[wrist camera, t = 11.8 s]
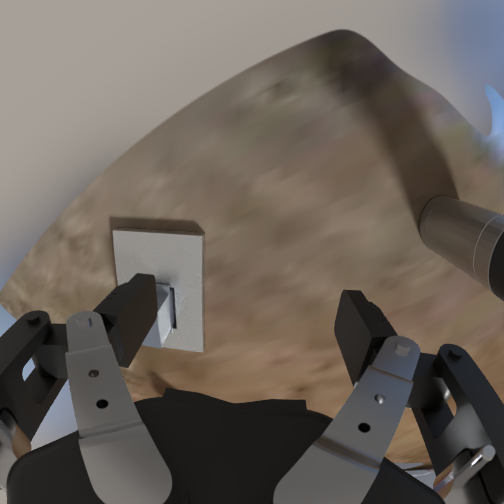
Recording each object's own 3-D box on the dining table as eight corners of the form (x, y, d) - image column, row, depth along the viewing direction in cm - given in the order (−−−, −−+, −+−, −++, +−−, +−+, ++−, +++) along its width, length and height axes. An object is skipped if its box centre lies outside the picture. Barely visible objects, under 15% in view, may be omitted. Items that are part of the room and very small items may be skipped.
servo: (173, 279, 42) (156, 305, 35) (175, 325, 45) (162, 354, 37) (149, 277, 42) (129, 301, 35) (153, 322, 45) (137, 350, 37)
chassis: (204, 232, 40) (202, 236, 38) (205, 346, 46) (203, 352, 45) (118, 227, 40) (112, 230, 38) (130, 334, 47) (127, 340, 45)
